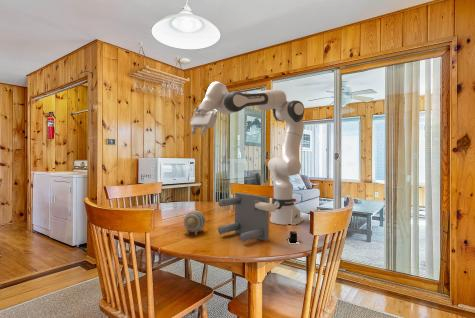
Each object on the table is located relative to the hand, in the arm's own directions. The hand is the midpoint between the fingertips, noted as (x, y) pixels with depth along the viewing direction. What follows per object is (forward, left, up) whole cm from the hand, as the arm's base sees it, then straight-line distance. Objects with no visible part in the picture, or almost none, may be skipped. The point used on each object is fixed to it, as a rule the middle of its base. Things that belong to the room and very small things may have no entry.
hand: (197, 134), depth 137 cm
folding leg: (-12, +35, -35) cm, 51 cm away
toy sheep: (+1, +1, -50) cm, 50 cm away
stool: (-10, +23, -50) cm, 56 cm away
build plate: (-25, +42, -50) cm, 70 cm away
